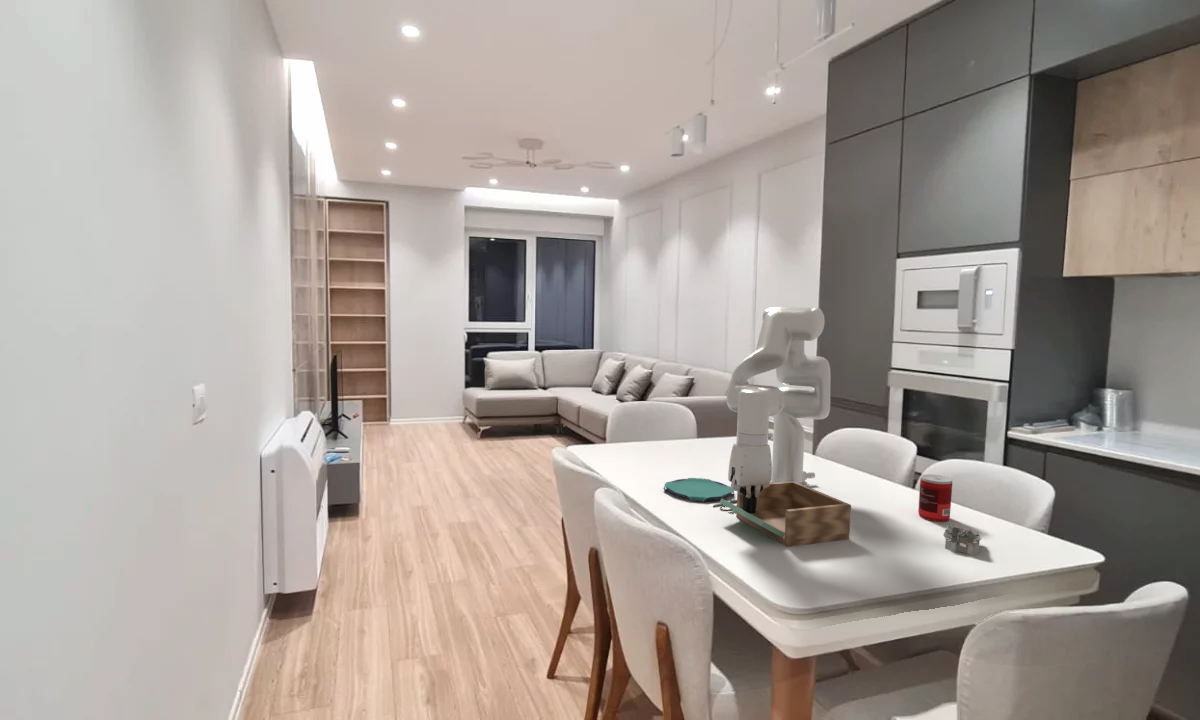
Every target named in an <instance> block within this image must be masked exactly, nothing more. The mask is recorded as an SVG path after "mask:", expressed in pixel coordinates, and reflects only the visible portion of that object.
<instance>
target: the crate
mask: <svg viewBox="0 0 1200 720" xmlns="http://www.w3.org/2000/svg"><path fill="white" fill-rule="evenodd" d="M736 492H737V494H736V495H737V496H736V500H737V502H736V505H737V507H739V508H741V509H742V510H743V495H741V493H740V492H739V491H736ZM851 513H852V504H851V503H848V502H845V501H842V500H841V499H838V498H836V497H833V496H831V495H828V494H826V493H824V492H822V491H819V490H816V489H814V488H812V487H809V486H808V485H807V486H805V485H802V484H800V483H797V482H795V481H789V482H777V483H770V486H769V487H768V488H765V489H763V490H762V491H761V492H760V494H759V497H757V505H756V513H754V514H753V513H752V514H751V515H753V516H755V517H757V518H759V519H760V520H762V521H764V522H766V523H768V524H770V525H771V526H773V527H775V528H777V529H779V530H780V531H782V532H784V533H785V535H784V537H783V538H782V537H781V536H779V535H777V534H775V533H773V532H771V531H769V530H767V529H766V528H764V527H762V526H760V525H758V524H757V523H755V522H753V521H751V520H750V519H748V518H746V517H744V516H743V515H741V514H739V513H736V514H735V515H736V518H738V519H740V520H741V521H743V522H744V523H747V524H748V525H749V526H751V527H753V528H755V529H756V530H758V531H760V532H761V533H763V534H765V535H767V536H768V537H771V538H772V539H773V540H775V541H777V542H779V543H781V544H782V545H784V546H785V547H795V546H796V547H797V546H803V545H804V546H805V545H811V544H813V545H814V544H821V543H827V542H836V541H837V542H838V541H843V540H844V541H846V540H850V531H851Z"/></svg>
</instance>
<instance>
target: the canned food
mask: <svg viewBox="0 0 1200 720" xmlns="http://www.w3.org/2000/svg"><path fill="white" fill-rule="evenodd" d="M952 492H953V479H952V478H950V477H948V476H945V475H944V476H943V475H940V474H933V473H931V474H929V473H928V474H922V475H921V476H920V480H919V496H918V510H917V511H918V515H919V517H920V518H922V519H924V520H928V521H932V522H936V523H937V522H939V523H941V522H942V523H944V522H947V521H949V520H950V517H951V510H952V508H951V506H952V495H953V494H952Z"/></svg>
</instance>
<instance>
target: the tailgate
mask: <svg viewBox="0 0 1200 720" xmlns="http://www.w3.org/2000/svg"><path fill="white" fill-rule="evenodd" d="M719 500H720V501H719V503H722V504H723V505H722V506H724V505H725V506H727V507H726V508H728V509H732V510H731V511H736V512H737V513H739V514H741V515H743V516H744V517H746V518H748V519H750V520H751V521H753V522H755V523H757V524H758V525H760V526H762V527H764V528H766V529H767V530H769V531H771V532H773V533H775V534H777V535H779V536H781V537H782V538H783V537H784V535H785V533H784V532H782V531H780V530H779V529H777V528H775V527H773V526H771V525H770V524H768V523H766V522H764V521H762V520H760V519H759V518H757V517H755V516H753V515H751V514H749V513H747V512H746V511H744V510H742V509H741V508H739V507H737V506H736V505H735V504H734V503H730V501H728V500H725V498H721V499H719Z"/></svg>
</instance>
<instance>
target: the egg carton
mask: <svg viewBox="0 0 1200 720" xmlns="http://www.w3.org/2000/svg"><path fill="white" fill-rule="evenodd" d="M980 535H981V534H980V533H979V532H973V531H971V529H965V528H963V527H960V526H953V525H952V524H950V523H948V524H947V526H946V529H945V530H944V532H943V536H944V537H943V538H944V539H945V542H944V543H945V544H944V549H946V550H949V551H950V552H954V553H955V552H960V553H961V552H963V553H965V554H966V555H969V556H973V555H976V556H977V555H979V552H980V541H981V540H982V537H981V536H980ZM954 539H955V540H956V542H953V540H954Z"/></svg>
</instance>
